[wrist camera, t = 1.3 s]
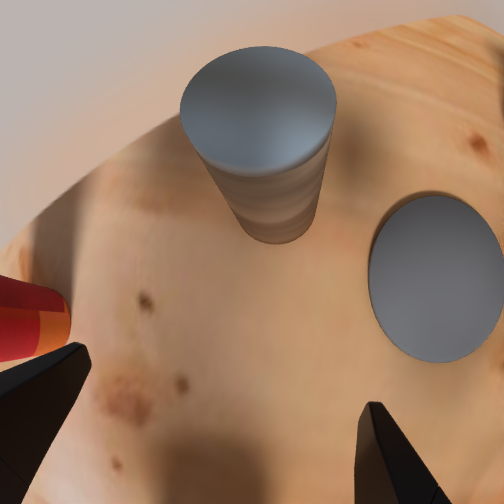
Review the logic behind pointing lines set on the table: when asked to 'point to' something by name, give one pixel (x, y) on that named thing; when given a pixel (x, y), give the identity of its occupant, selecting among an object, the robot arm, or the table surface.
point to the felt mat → (436, 279)
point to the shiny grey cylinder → (263, 136)
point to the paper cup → (31, 320)
